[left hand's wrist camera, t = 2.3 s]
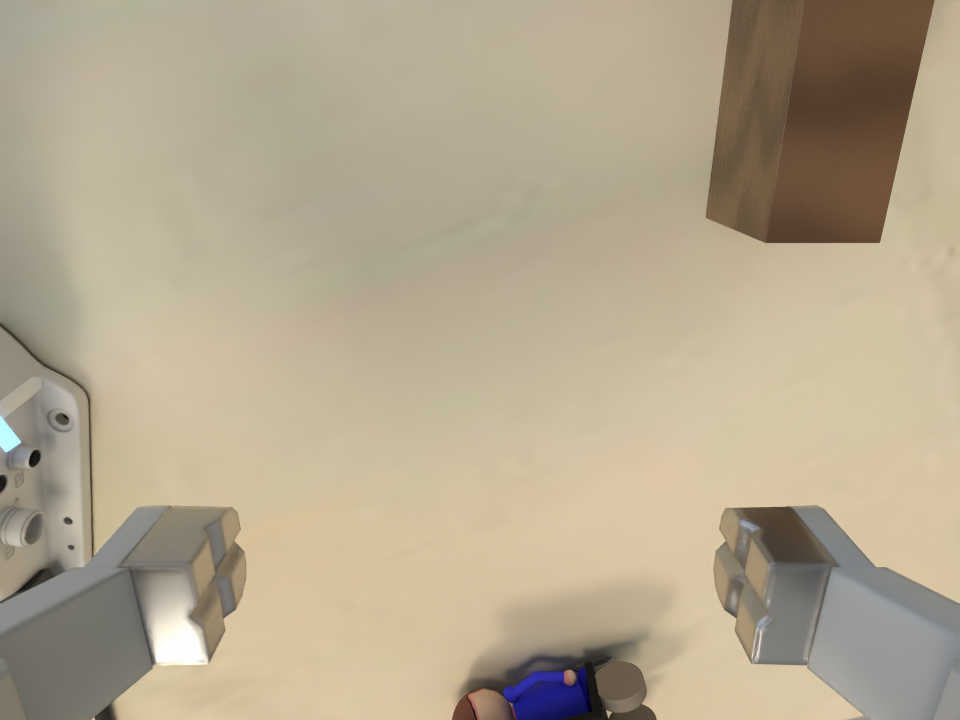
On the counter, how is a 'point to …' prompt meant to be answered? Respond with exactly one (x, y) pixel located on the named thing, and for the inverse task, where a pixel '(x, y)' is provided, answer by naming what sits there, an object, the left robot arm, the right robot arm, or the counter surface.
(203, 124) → the counter surface
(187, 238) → the counter surface
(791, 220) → the bar
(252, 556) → the counter surface
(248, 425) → the counter surface
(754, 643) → the left robot arm
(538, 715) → the figurine character
